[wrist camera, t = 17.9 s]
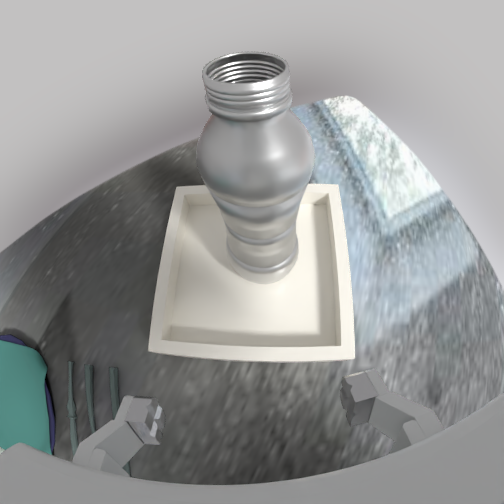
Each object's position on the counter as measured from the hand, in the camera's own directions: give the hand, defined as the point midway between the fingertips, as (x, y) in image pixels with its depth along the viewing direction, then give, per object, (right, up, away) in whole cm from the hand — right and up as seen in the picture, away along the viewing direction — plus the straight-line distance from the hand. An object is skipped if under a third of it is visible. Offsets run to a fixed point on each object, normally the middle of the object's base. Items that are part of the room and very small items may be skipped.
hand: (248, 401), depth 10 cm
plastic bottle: (+1, +6, +17) cm, 18 cm away
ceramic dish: (0, +4, +17) cm, 18 cm away
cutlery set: (-28, -15, +12) cm, 33 cm away
